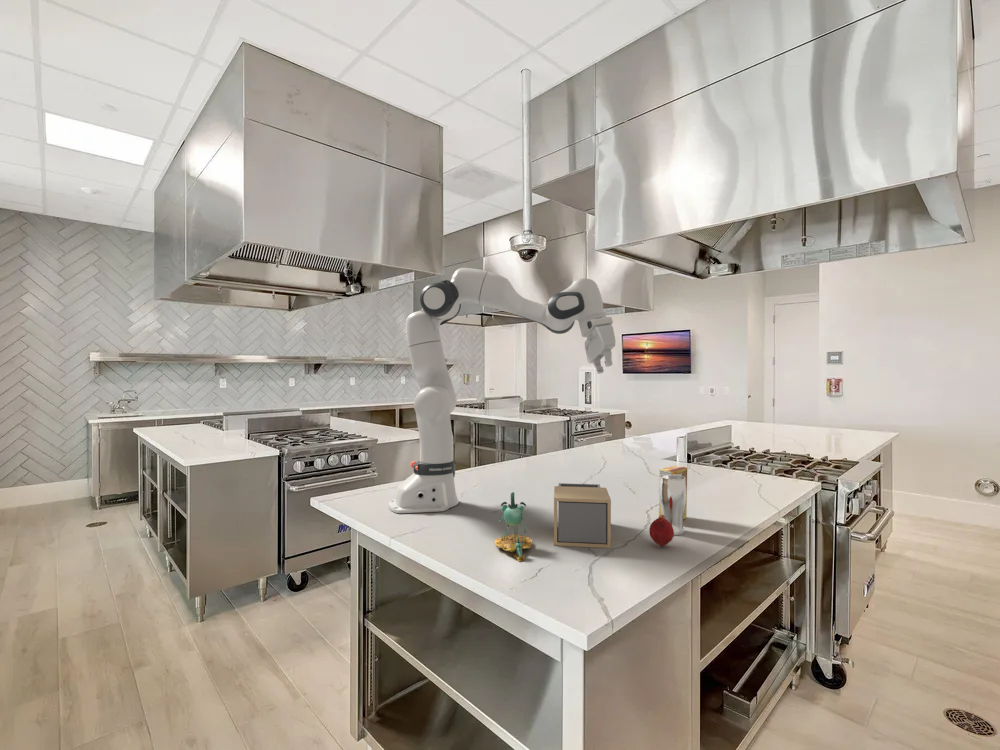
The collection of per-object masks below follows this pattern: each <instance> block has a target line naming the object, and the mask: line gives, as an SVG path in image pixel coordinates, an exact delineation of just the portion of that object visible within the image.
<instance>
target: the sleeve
mask: <svg viewBox="0 0 1000 750" xmlns="http://www.w3.org/2000/svg"><path fill="white" fill-rule="evenodd" d="M600 487H601V486H600ZM600 487H567V486H559V485H558V486H557V485H554V487H553V488H554V491H553V546H562V547H577V548H579V547H580V548H581V547H583V548H601V549H602V548H604V549H611V548H612V544H611V542H612V541H611V539H612V538H611V537H612V526H611V525H612V522H611V521H612V520H611V519H612V501H611V496H610V494H609V492H608V489H607V487H601V488H600ZM558 501H565V502H594V503H606V543H586V542H564V541H558Z"/></svg>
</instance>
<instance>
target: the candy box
mask: <svg viewBox="0 0 1000 750" xmlns="http://www.w3.org/2000/svg"><path fill="white" fill-rule="evenodd" d="M663 474H674V475H680V476H684V477H685V483H686V501H685V507H684V512H683V520H685V519H687V517H688V516H687V511H688V509H687V505H688V503H687V502H688V497H687V496H688V467H687V466H681V465H672V466H668V467H664V468H661V469H659V476H658V477H659V478H658V479H659V481H658V483H659V482H660V475H663ZM661 514H662V511H661V506H660V499H659V498H658V517H659V516H660V515H661Z"/></svg>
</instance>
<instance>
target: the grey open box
mask: <svg viewBox="0 0 1000 750" xmlns="http://www.w3.org/2000/svg"><path fill="white" fill-rule="evenodd" d="M558 486H567V487H600V488H602V487H601V486H600V484H598V483H597V484H595V483H591V484H590V483H569V482H568V483H566V482H565V483H561V482H559V483H558ZM557 526H558V541H564V542H586V543H606V503H594V502H565V501H557Z"/></svg>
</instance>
